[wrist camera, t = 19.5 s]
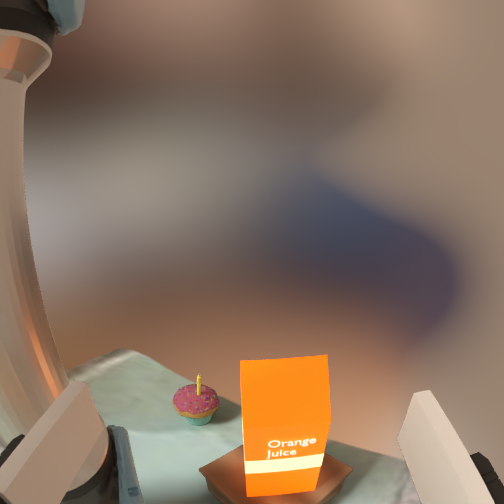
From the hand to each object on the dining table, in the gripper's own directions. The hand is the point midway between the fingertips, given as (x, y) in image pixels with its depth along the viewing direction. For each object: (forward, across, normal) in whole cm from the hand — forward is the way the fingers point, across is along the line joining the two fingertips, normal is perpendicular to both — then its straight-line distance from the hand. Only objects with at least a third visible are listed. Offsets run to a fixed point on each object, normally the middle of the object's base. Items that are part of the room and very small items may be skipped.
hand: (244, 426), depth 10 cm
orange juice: (+17, +2, -28) cm, 33 cm away
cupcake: (+34, -12, -34) cm, 50 cm away
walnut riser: (+17, +2, -34) cm, 38 cm away
